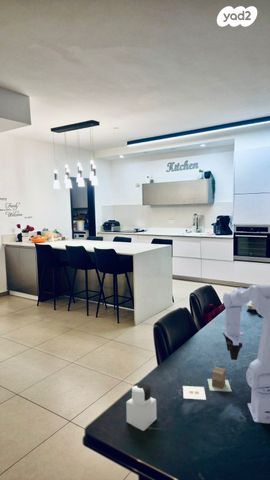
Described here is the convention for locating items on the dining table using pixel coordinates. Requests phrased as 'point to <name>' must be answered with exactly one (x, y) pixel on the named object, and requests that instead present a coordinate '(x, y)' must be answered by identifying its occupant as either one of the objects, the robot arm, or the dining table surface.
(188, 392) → the white tile
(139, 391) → the medicine bottle
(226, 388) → the sage mat
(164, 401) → the dining table surface
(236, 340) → the robot arm
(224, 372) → the walnut block
